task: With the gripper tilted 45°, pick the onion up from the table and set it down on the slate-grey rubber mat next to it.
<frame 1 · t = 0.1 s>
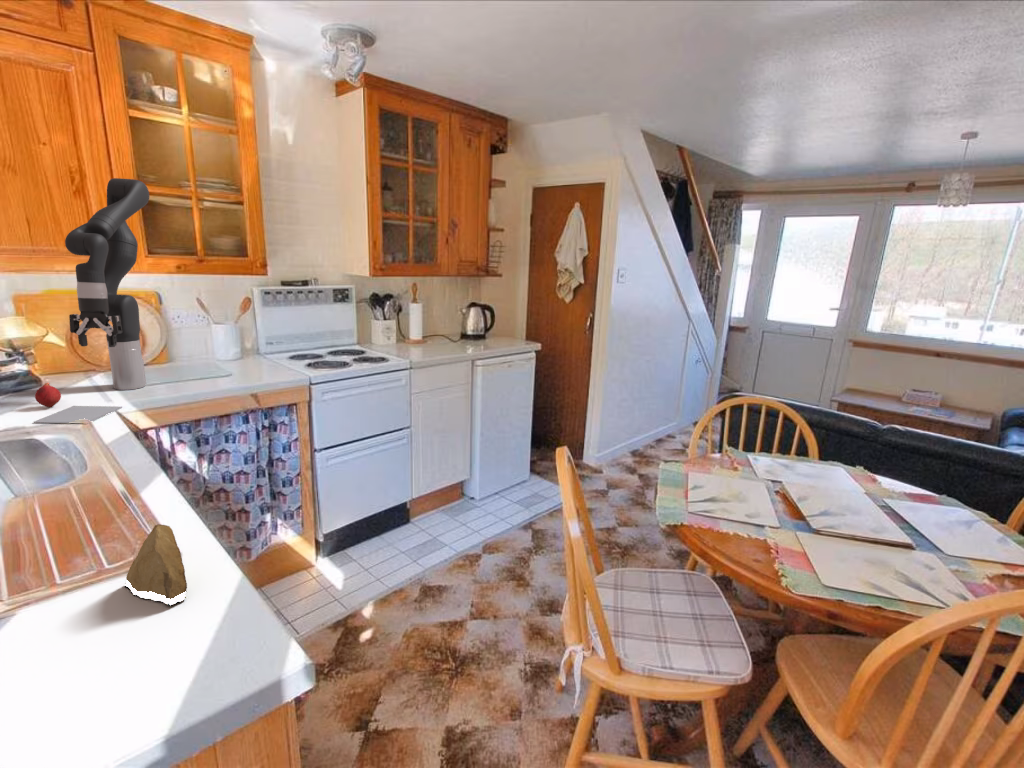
hand: (98, 346, 163), 17 cm above the worktop, tool pointing down, fingers open, 8 cm apart
onion: (50, 408, 154), on the worktop
mat: (80, 415, 149), on the worktop
rock: (156, 594, 76), on the worktop
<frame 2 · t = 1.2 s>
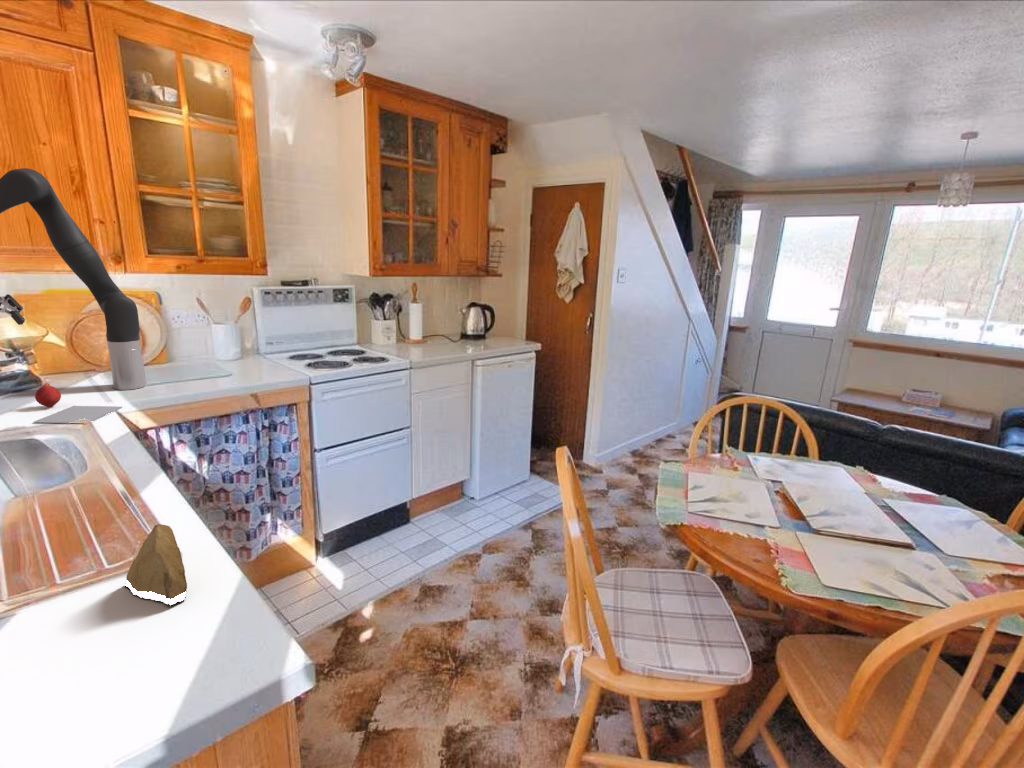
hand: (6, 324, 150), 25 cm above the worktop, tool tilted 45°, fingers open, 8 cm apart
nothing on the worktop moved.
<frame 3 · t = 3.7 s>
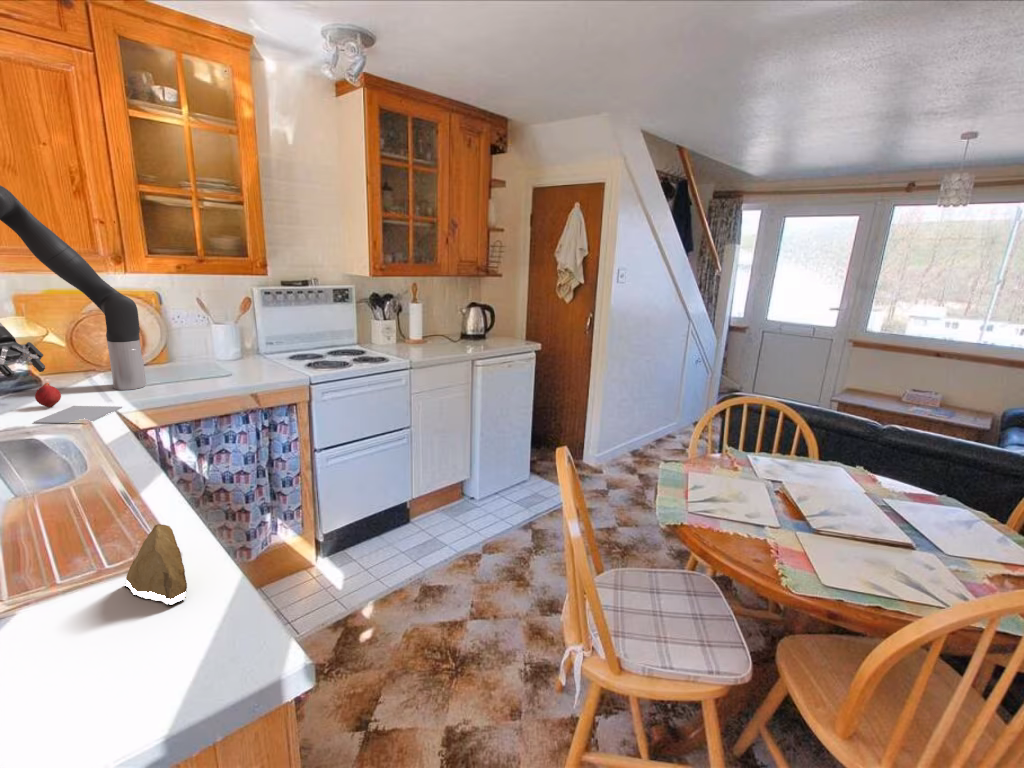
hand: (27, 373, 153), 10 cm above the worktop, tool tilted 45°, fingers open, 8 cm apart
nothing on the worktop moved.
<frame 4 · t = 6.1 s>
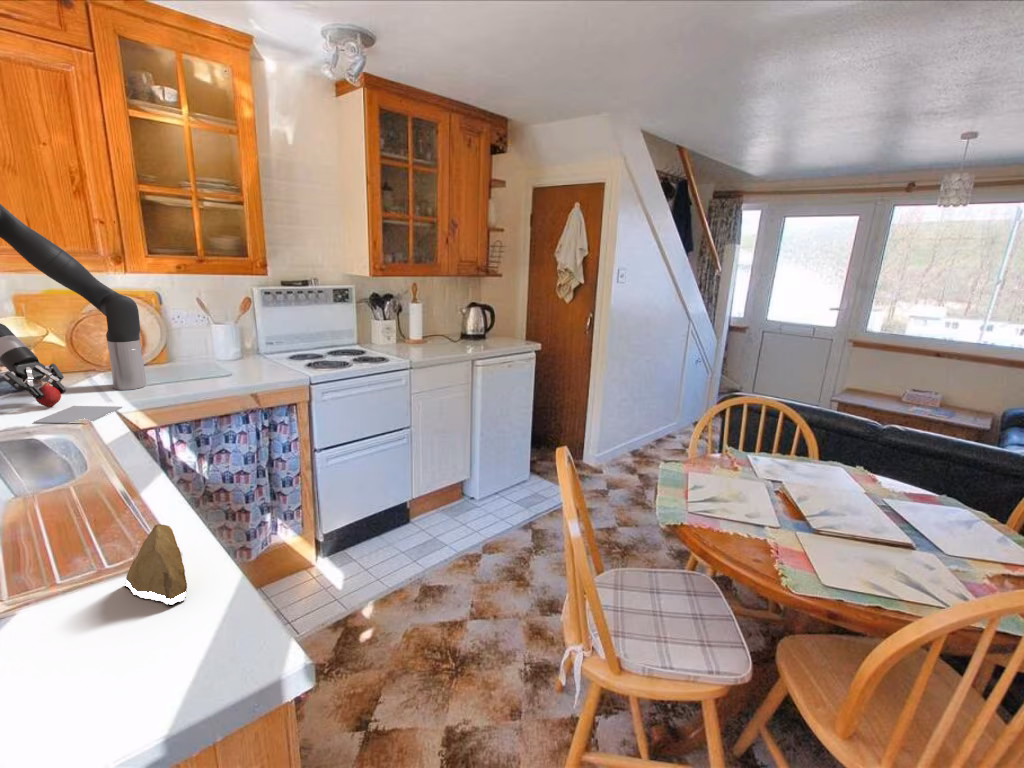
hand: (52, 394, 153), 4 cm above the worktop, tool tilted 45°, fingers closed on onion, 6 cm apart
onion: (50, 408, 154), on the worktop, touching gripper
everything else where it was.
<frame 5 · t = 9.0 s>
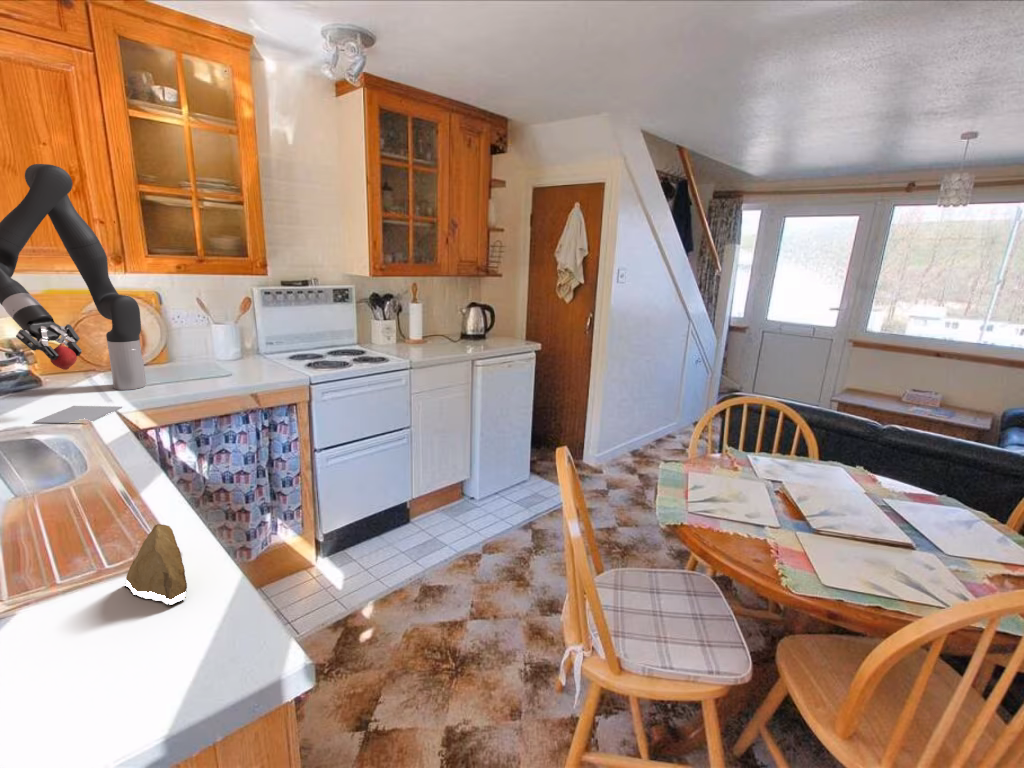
hand: (67, 356, 145), 18 cm above the worktop, tool tilted 45°, fingers closed on onion, 6 cm apart
onion: (65, 370, 147), point 14 cm above the worktop, touching gripper
everything else where it was.
when the fingers open (6 cm above the worktop, at t = 12.0 s): onion drops 1 cm, resting on mat.
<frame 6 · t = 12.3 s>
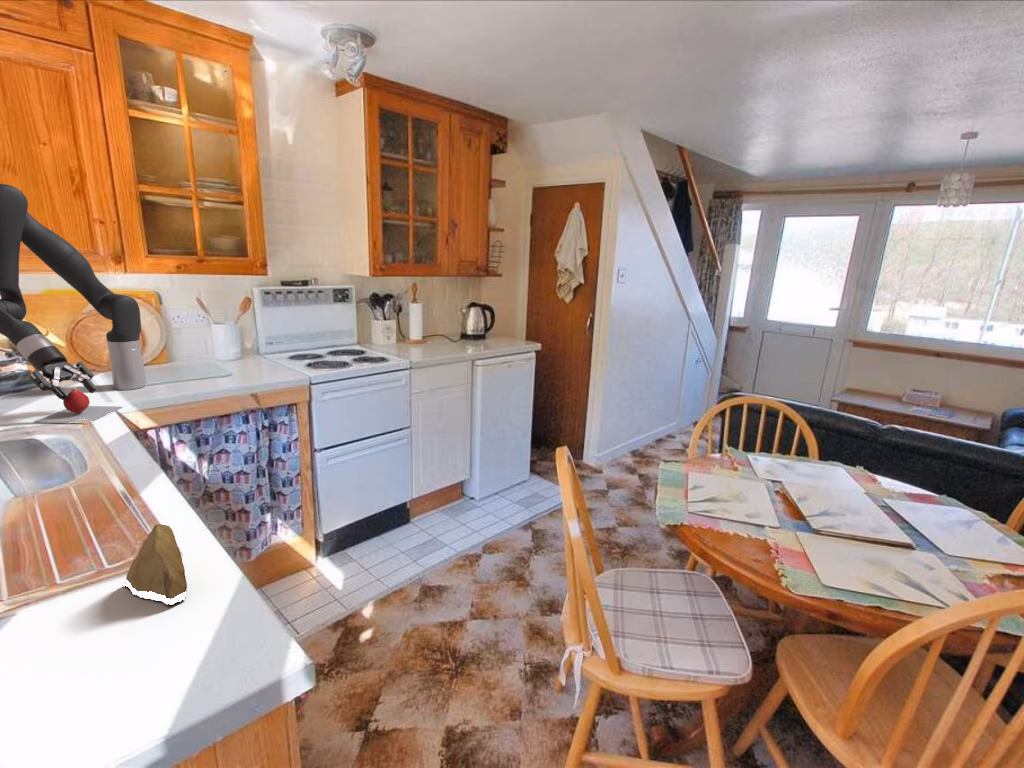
hand: (80, 394, 148), 7 cm above the worktop, tool tilted 45°, fingers open, 8 cm apart
onion: (79, 414, 149), resting on mat
everything else where it was.
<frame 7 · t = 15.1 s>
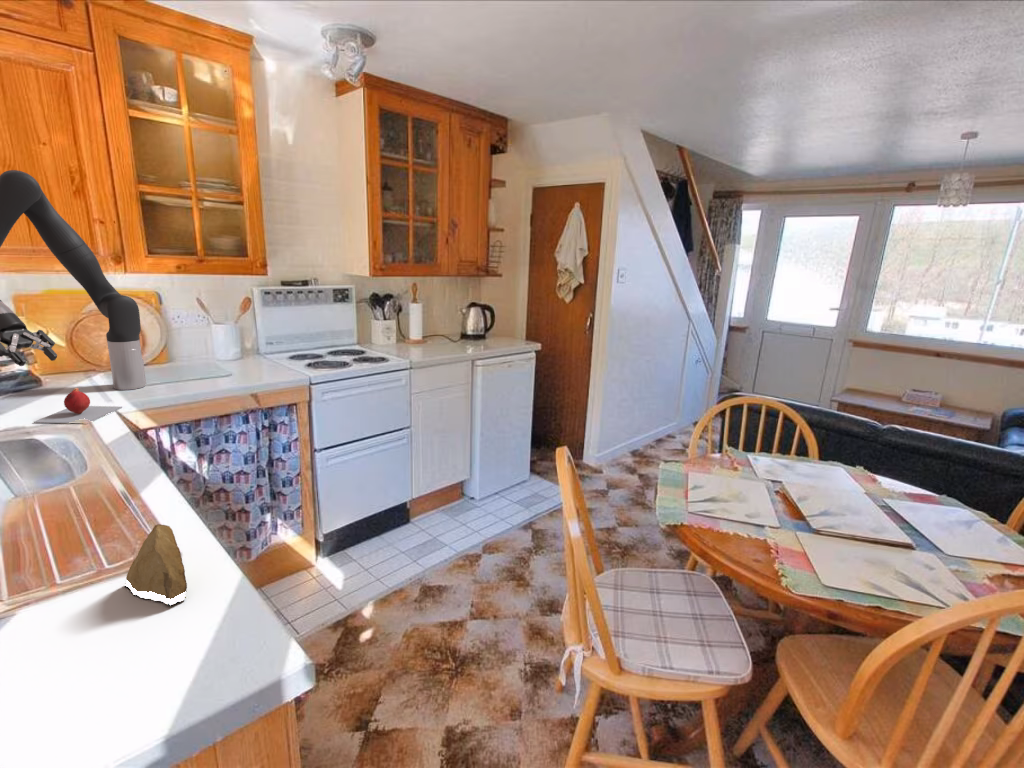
hand: (39, 361, 147), 15 cm above the worktop, tool tilted 45°, fingers open, 8 cm apart
nothing on the worktop moved.
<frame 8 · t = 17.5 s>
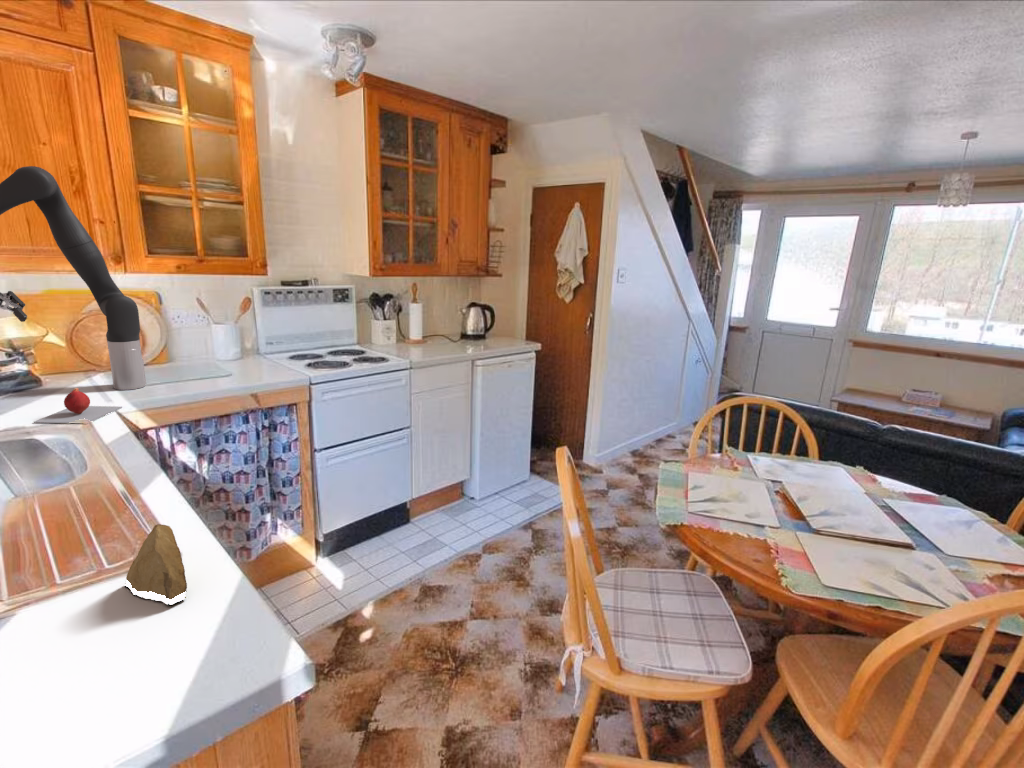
hand: (8, 321, 147), 27 cm above the worktop, tool tilted 45°, fingers open, 8 cm apart
nothing on the worktop moved.
at the end: onion inside the target area on the mat (0.2 cm from its centre), point 0.2 cm above the mat's base; onion touching mat; the gripper is holding nothing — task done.
